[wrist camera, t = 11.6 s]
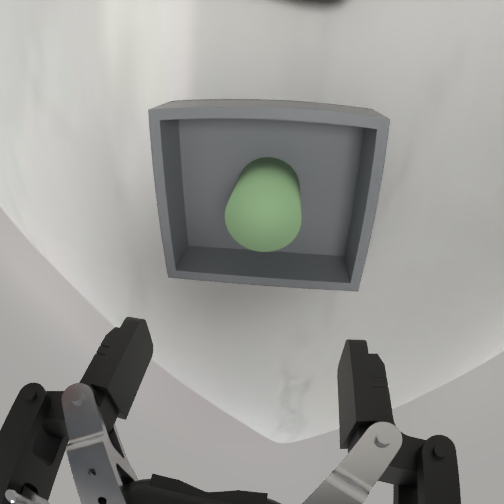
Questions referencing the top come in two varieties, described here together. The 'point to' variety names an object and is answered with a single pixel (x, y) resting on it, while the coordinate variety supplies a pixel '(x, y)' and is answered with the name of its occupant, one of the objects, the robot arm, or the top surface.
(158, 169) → the bin
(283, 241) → the cucumber chunk
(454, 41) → the top surface
